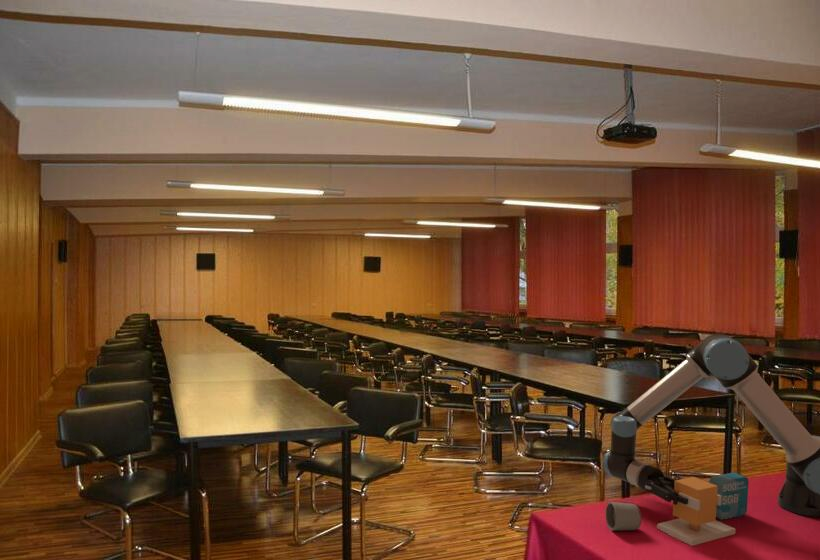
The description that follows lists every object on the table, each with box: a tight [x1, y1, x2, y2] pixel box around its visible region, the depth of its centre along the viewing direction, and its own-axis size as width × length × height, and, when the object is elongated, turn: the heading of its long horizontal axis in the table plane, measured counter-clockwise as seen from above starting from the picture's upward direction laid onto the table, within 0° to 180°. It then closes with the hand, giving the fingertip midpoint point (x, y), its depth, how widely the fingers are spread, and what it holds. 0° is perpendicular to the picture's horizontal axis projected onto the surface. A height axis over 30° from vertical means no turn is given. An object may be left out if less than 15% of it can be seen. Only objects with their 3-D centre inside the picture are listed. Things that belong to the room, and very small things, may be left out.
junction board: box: [656, 518, 736, 547], centre depth 195 cm, size 18×12×8 cm, turn 119°
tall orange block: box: [672, 476, 718, 526], centre depth 193 cm, size 8×8×10 cm
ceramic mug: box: [605, 501, 642, 531], centre depth 197 cm, size 11×8×8 cm
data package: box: [708, 472, 750, 521], centre depth 208 cm, size 12×4×12 cm, turn 115°
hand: (709, 503), depth 189 cm, fingers closed on tall orange block, 8 cm apart
